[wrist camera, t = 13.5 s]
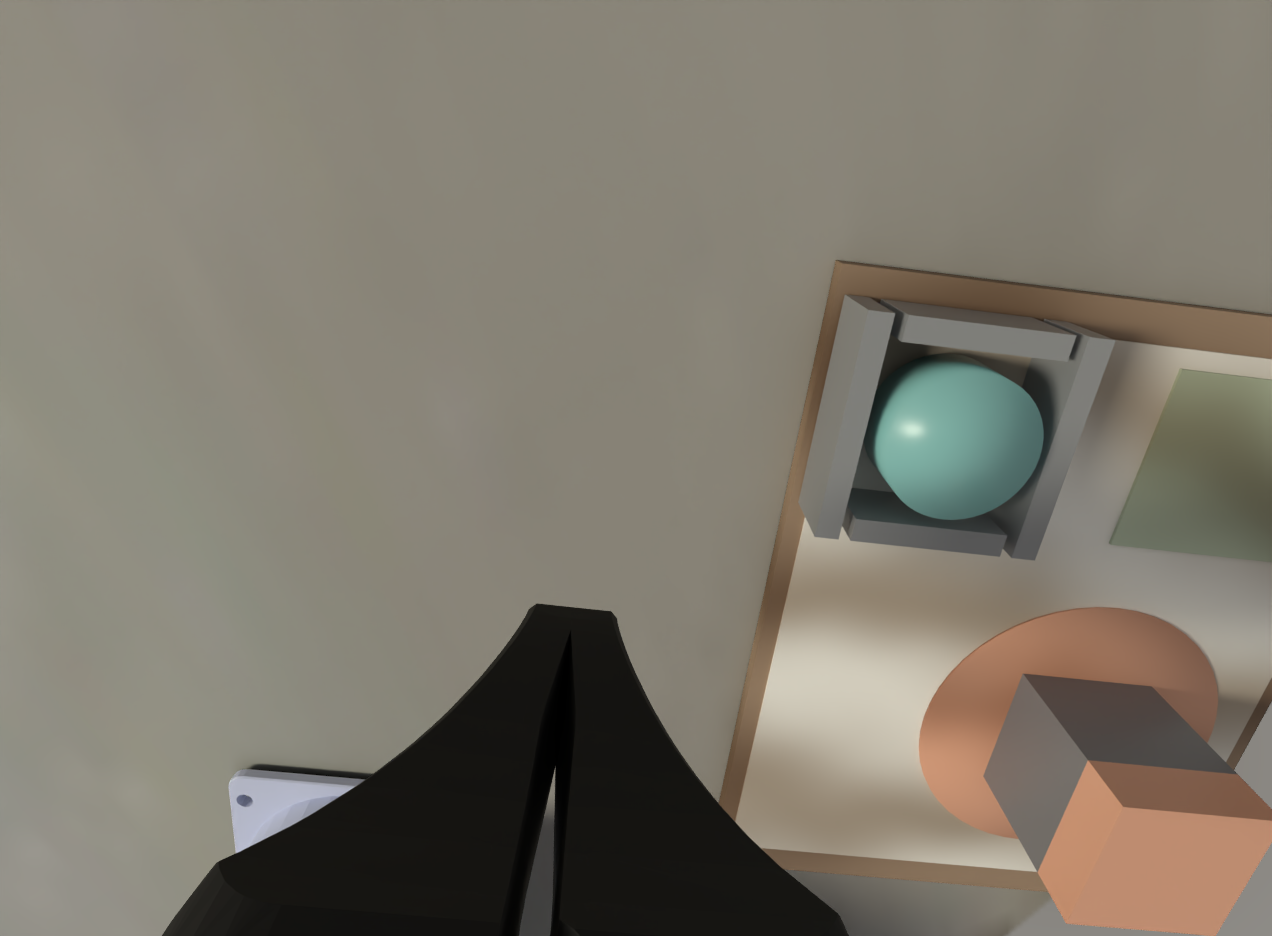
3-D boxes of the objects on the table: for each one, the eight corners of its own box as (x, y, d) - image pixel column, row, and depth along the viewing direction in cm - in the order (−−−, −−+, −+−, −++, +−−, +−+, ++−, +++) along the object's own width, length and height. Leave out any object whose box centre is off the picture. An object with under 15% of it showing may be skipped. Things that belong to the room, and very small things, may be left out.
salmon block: (1104, 787, 24) (1215, 936, 20) (983, 775, 24) (1066, 923, 19) (1151, 686, 23) (1283, 822, 18) (1022, 673, 22) (1122, 806, 18)
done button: (983, 496, 20) (1015, 527, 18) (848, 481, 20) (868, 511, 18) (1026, 362, 18) (1065, 383, 17) (882, 345, 18) (907, 363, 17)
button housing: (998, 524, 21) (1034, 560, 19) (798, 502, 20) (814, 537, 19) (1067, 321, 19) (1115, 340, 17) (844, 294, 18) (868, 309, 16)
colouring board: (1151, 886, 27) (1165, 906, 26) (709, 848, 26) (711, 868, 26) (1444, 336, 19) (1476, 344, 19) (835, 260, 19) (844, 264, 18)
